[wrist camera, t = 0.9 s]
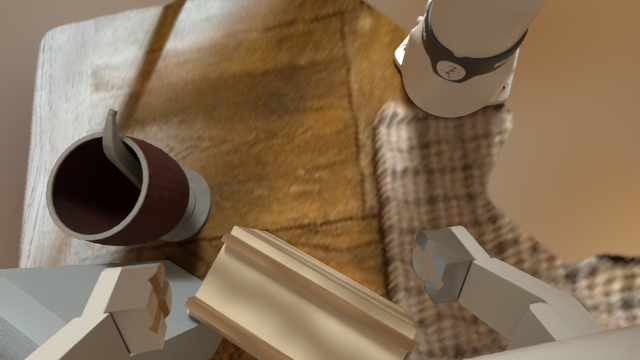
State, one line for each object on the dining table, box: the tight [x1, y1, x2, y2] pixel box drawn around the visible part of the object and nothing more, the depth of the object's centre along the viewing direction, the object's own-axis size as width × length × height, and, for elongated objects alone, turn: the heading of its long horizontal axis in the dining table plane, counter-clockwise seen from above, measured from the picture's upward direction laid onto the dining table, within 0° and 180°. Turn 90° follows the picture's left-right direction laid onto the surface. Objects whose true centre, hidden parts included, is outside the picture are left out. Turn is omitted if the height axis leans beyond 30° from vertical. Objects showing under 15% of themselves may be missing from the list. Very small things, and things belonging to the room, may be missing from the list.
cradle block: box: [184, 226, 417, 360], centre depth 42 cm, size 11×23×15 cm, turn 62°
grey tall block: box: [0, 260, 223, 360], centre depth 39 cm, size 8×14×26 cm, turn 62°
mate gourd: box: [46, 109, 212, 246], centre depth 46 cm, size 16×14×20 cm
